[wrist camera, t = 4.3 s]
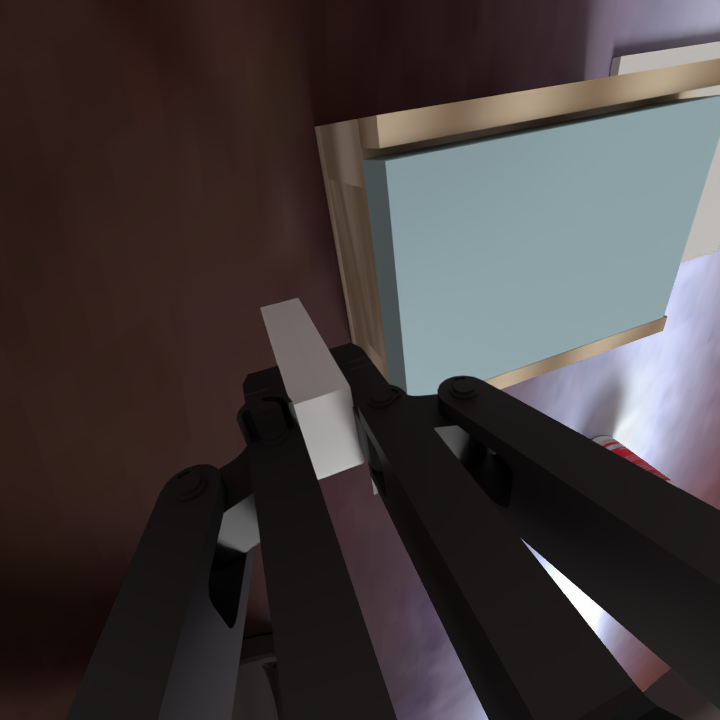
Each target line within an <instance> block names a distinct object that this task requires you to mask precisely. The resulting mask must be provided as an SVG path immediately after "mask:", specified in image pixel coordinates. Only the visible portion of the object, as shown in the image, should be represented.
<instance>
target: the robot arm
mask: <svg viewBox="0 0 720 720" xmlns="http://www.w3.org/2000/svg"><path fill="white" fill-rule="evenodd" d="M260 309H261V312H262V316H263V319H264V322H265V325H266V329H267V332H268V335H269V338H270V342H271V345H272V348H273V351H274V355H275V358H276V361H277V365H278V366H275V367H272V368H268V369H265V370H262V371H258V372H255V373H252V374H248V375H247V377H246V379H245V381H244V383H243V390H244V396H245V403H246V404H244V405H243V406H242V408H241V409H240V410H239V412H238V414H237V419H236V420H237V422H238V425H239V427H240V429H241V432H242V434H243V437H244V439H245V441H246V444H247V447H246V448H245V450H244V451H243V452H242V453H241V454H240V455H239V456H238V457H237V458H236V459H234V460H233V461H232V462H230V463H229V464H227V465H225V466H224V467H222V468H220V469H219V470H218V469H217V468H216V467H214V466H211V465H209V464H203V465H195V466H192V467H189V468H186V469H184V470H183V471H181V472H179V473H178V474H176V475H175V476H174V477H173V478H171V479H170V480H169V481H168V482H167V483H166V485H165V486H164V488H163V489H162V491H161V492H160V495H159V497H158V499H157V502H156V504H155V507H154V509H153V511H152V514H151V516H150V519H149V521H148V523H147V526H146V528H145V530H144V533H143V535H142V538H141V540H140V542H139V545H138V547H137V550H136V552H135V554H134V557H133V559H132V561H131V564H130V566H129V569H128V571H127V573H126V576H125V578H124V581H123V583H122V585H121V588H120V590H119V593H118V595H117V597H116V600H115V602H114V604H113V607H112V609H111V612H110V614H109V616H108V619H107V621H106V624H105V626H104V628H103V631H102V633H101V635H100V638H99V640H98V643H97V645H96V647H95V650H94V652H93V655H92V657H91V659H90V662H89V664H88V667H87V669H86V671H85V674H84V676H83V678H82V681H81V683H80V686H79V688H78V690H77V693H76V695H75V698H74V700H73V702H72V705H71V707H70V709H69V712H68V714H67V717H66V719H65V720H397V718H396V715H395V712H394V709H393V706H392V703H391V700H390V697H389V694H388V691H387V688H386V685H385V682H384V679H383V676H382V673H381V670H380V667H379V664H378V661H377V658H376V655H375V651H374V648H373V645H372V642H371V639H370V636H369V633H368V630H367V627H366V624H365V621H364V618H363V615H362V612H361V609H360V606H359V603H358V600H357V597H356V594H355V591H354V588H353V585H352V582H351V579H350V576H349V573H348V570H347V567H346V564H345V561H344V558H343V555H342V552H341V549H340V546H339V543H338V540H337V537H336V534H335V531H334V528H333V525H332V522H331V519H330V516H329V513H328V510H327V507H326V504H325V501H324V498H323V494H322V491H321V488H320V485H319V482H318V480H319V479H322V478H324V477H327V476H330V475H333V474H335V473H338V472H341V471H343V470H346V469H349V468H351V467H354V466H357V465H359V464H362V463H365V462H364V457H363V453H364V455H365V457H366V459H367V461H368V465H369V470H370V476H371V481H372V486H373V491H374V495H375V494H377V493H378V492H379V494H380V496H381V499H382V501H383V503H384V505H385V507H386V509H387V511H388V513H389V515H390V517H391V519H392V521H393V523H394V525H395V527H396V529H397V532H398V534H399V536H400V538H401V540H402V542H403V544H404V546H405V548H406V550H407V552H408V554H409V556H410V558H411V560H412V562H413V565H414V567H415V569H416V571H417V573H418V575H419V577H420V579H421V581H422V583H423V585H424V587H425V589H426V591H427V593H428V595H429V598H430V600H431V602H432V604H433V606H434V608H435V610H436V612H437V614H438V616H439V618H440V620H441V622H442V624H443V626H444V628H445V630H446V633H447V635H448V637H449V639H450V641H451V643H452V645H453V647H454V649H455V651H456V653H457V655H458V657H459V659H460V661H461V663H462V666H463V668H464V670H465V672H466V674H467V676H468V678H469V680H470V682H471V684H472V686H473V688H474V690H475V692H476V694H477V696H478V699H479V701H480V703H481V705H482V707H483V709H484V711H485V713H486V715H487V717H488V719H489V720H683V719H682V718H680V717H678V716H676V715H674V714H672V713H670V712H668V711H666V710H664V709H662V708H660V707H658V706H657V705H656V704H654V703H653V702H652V701H651V700H650V699H649V698H647V697H646V696H645V695H644V693H643V692H642V691H641V690H640V689H639V688H638V687H637V686H636V684H635V683H634V682H633V681H632V679H631V678H630V677H629V676H628V674H627V673H626V672H625V670H624V669H623V668H622V667H621V665H620V664H619V663H618V662H617V660H616V659H615V658H614V656H613V655H612V654H611V653H610V651H609V650H608V649H607V648H606V646H605V645H604V644H603V642H602V641H601V640H600V639H599V637H598V636H597V635H596V634H595V632H594V631H593V630H592V629H591V627H590V626H589V625H588V623H587V622H586V621H585V620H584V618H583V617H582V616H581V615H580V613H579V612H578V611H577V609H576V608H575V607H574V606H573V604H572V603H571V602H570V601H569V599H568V598H567V597H566V595H565V594H564V593H563V592H562V590H561V589H560V588H559V587H558V585H557V584H556V583H555V581H554V580H553V579H552V578H551V576H550V575H549V574H548V573H547V571H546V570H545V569H544V568H543V566H542V565H541V564H540V562H539V561H538V560H537V559H536V557H535V556H534V555H533V554H532V552H531V551H530V550H529V548H528V547H527V546H526V545H525V543H524V542H523V541H522V540H521V539H523V540H524V541H525V542H526V543H527V544H528V545H530V546H531V547H532V548H533V549H534V550H535V551H537V552H538V553H539V554H540V555H541V556H542V557H543V558H545V559H546V560H547V561H548V562H549V563H550V564H552V565H553V566H554V567H555V568H556V569H557V570H559V571H560V572H561V573H562V574H563V575H564V576H565V577H567V578H568V579H569V580H570V581H571V582H572V583H574V584H575V585H576V586H577V587H578V588H579V589H581V590H582V591H583V592H584V593H585V594H586V595H587V596H589V597H590V598H591V599H592V600H593V601H594V602H596V603H597V604H598V605H599V606H600V607H601V608H603V609H604V610H605V611H606V612H607V613H608V614H610V615H611V616H612V617H613V618H614V619H615V620H616V621H618V622H619V623H620V624H621V625H622V626H623V627H625V628H626V629H627V630H628V631H629V632H630V633H632V634H633V635H634V636H635V637H636V638H637V639H638V640H640V641H641V642H642V643H643V644H644V645H645V646H647V647H648V648H649V649H650V650H651V651H652V652H654V653H655V654H656V655H657V656H658V657H659V658H660V659H662V660H663V661H664V662H665V663H666V664H667V665H669V666H670V667H671V668H672V669H673V670H674V671H676V672H677V673H678V674H679V675H680V676H681V677H683V678H684V679H685V680H686V681H687V682H688V683H690V684H691V685H692V686H693V687H694V688H695V689H697V690H698V691H699V692H700V693H701V694H702V695H703V696H705V697H706V698H707V699H708V700H709V701H710V702H712V703H713V704H714V705H715V706H716V707H717V708H719V709H720V510H718V509H716V508H714V507H713V506H711V505H709V504H707V503H705V502H704V501H702V500H700V499H698V498H696V497H694V496H693V495H691V494H689V493H687V492H685V491H684V490H682V489H680V488H678V487H676V486H674V485H673V484H671V483H669V482H667V481H665V480H663V479H662V478H660V477H658V476H656V475H654V474H653V473H651V472H649V471H647V470H645V469H643V468H642V467H640V466H638V465H636V464H634V463H632V462H631V461H629V460H627V459H625V458H623V457H622V456H620V455H618V454H616V453H614V452H612V451H611V450H609V449H607V448H605V447H603V446H602V445H600V444H598V443H596V442H594V441H592V440H591V439H589V438H587V437H585V436H583V435H581V434H580V433H578V432H576V431H574V430H572V429H571V428H569V427H567V426H565V425H563V424H561V423H560V422H558V421H556V420H554V419H552V418H551V417H549V416H547V415H545V414H543V413H541V412H540V411H538V410H536V409H534V408H532V407H530V406H529V405H527V404H525V403H523V402H521V401H520V400H518V399H516V398H514V397H512V396H510V395H509V394H507V393H505V392H503V391H501V390H500V389H498V388H496V387H494V386H492V385H490V384H489V383H487V382H485V381H483V380H481V379H478V378H476V377H472V376H464V375H463V376H454V377H451V378H448V379H445V380H444V381H443V382H442V383H441V384H440V385H439V387H438V390H437V393H438V394H432V395H422V396H412V395H407V393H406V392H405V391H404V390H402V389H401V388H400V387H397V386H394V385H389V383H388V382H387V381H386V379H385V378H384V377H383V375H382V374H381V373H380V371H379V370H378V369H377V367H376V366H375V365H374V363H373V362H372V361H371V359H370V358H369V357H368V355H367V354H366V353H365V351H364V350H363V349H362V348H361V347H359V346H357V345H355V344H353V343H348V344H345V345H342V346H338V347H335V348H332V349H328V348H327V346H326V345H325V343H324V341H323V339H322V338H321V336H320V334H319V333H318V331H317V329H316V327H315V326H314V324H313V322H312V321H311V319H310V317H309V316H308V314H307V312H306V310H305V309H304V307H303V305H302V304H301V302H300V300H299V298H295V299H292V300H288V301H284V302H280V303H276V304H273V305H269V306H265V307H261V308H260ZM362 451H363V452H362ZM377 490H378V491H377ZM259 542H260V543H261V551H262V558H263V565H264V573H265V580H266V587H267V595H268V602H269V609H270V617H271V624H272V631H273V634H271V635H263V636H257V637H253V638H249V639H245V640H242V639H243V632H244V625H245V618H246V611H247V604H248V596H249V589H250V582H251V575H252V568H253V561H254V554H255V545H256V544H258V543H259Z"/></svg>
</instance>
